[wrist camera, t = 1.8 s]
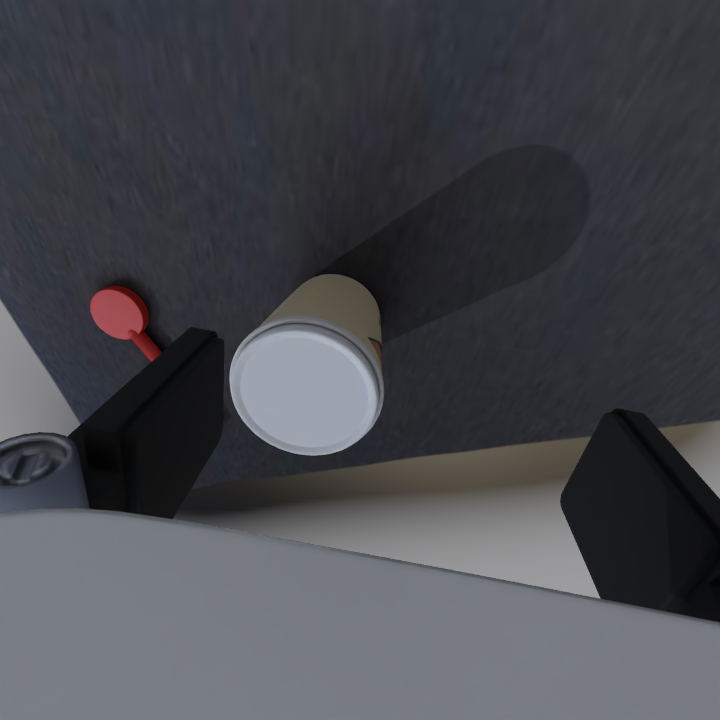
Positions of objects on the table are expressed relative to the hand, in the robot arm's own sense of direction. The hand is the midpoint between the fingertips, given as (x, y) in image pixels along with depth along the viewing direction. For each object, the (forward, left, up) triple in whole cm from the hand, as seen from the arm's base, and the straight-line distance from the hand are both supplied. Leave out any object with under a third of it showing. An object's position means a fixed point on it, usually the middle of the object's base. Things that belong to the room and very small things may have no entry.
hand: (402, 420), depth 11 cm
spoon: (+21, +12, -24) cm, 34 cm away
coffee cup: (+6, +7, -24) cm, 26 cm away
